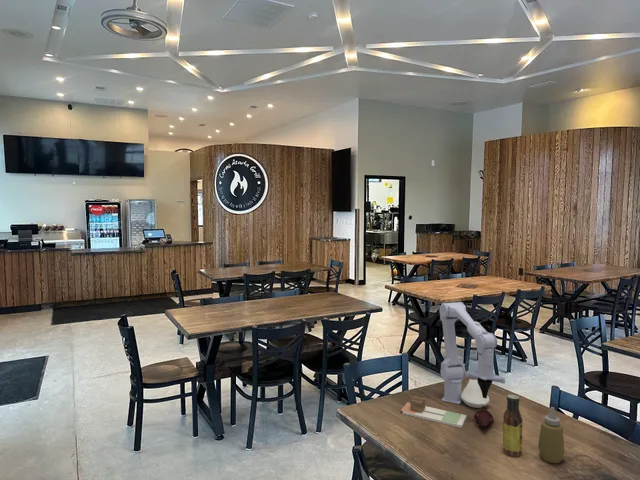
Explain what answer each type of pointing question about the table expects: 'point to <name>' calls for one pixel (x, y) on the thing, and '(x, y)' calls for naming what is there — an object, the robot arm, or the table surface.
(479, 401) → the spoon rest
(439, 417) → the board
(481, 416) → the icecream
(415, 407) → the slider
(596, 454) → the table surface
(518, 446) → the sauce bottle
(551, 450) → the squeeze bottle
